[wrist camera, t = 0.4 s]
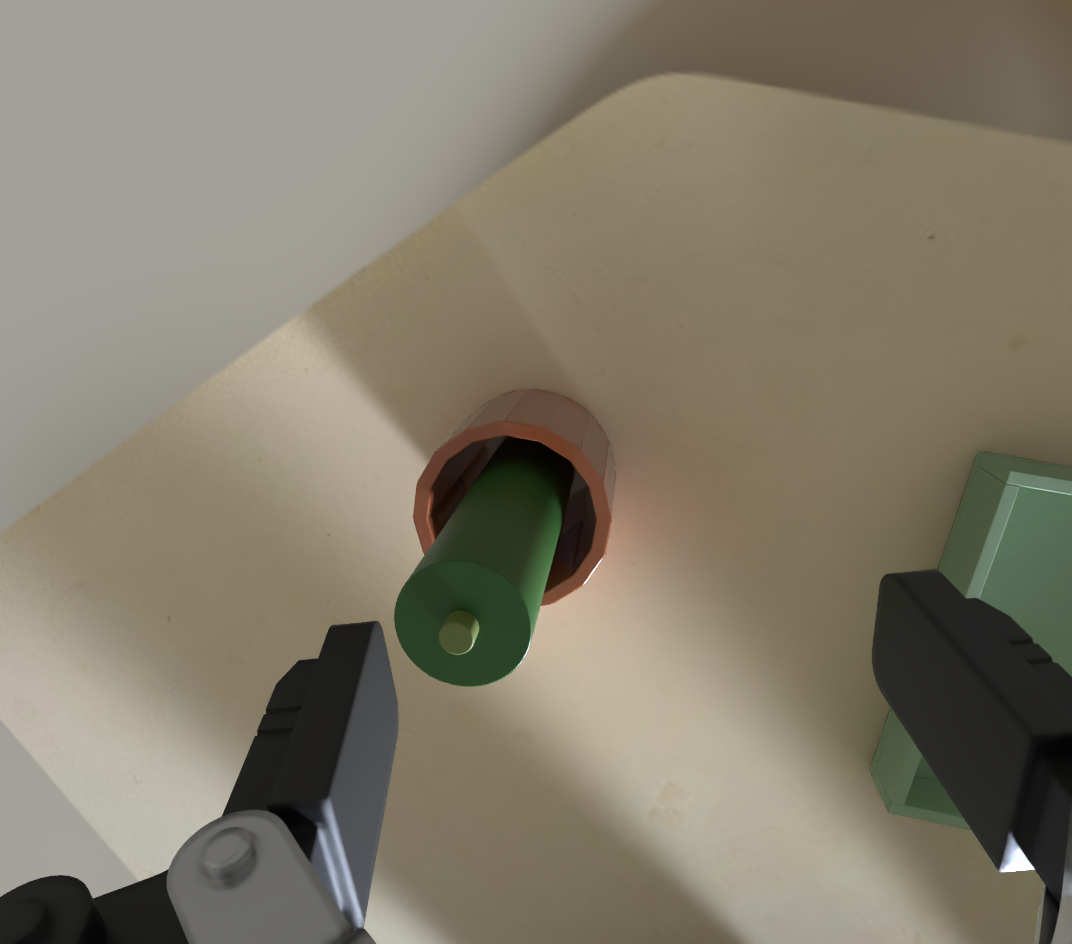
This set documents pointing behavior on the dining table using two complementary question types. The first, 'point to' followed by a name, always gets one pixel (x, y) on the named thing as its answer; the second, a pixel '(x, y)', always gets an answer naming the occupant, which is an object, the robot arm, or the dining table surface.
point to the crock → (560, 431)
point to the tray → (994, 597)
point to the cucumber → (487, 569)
